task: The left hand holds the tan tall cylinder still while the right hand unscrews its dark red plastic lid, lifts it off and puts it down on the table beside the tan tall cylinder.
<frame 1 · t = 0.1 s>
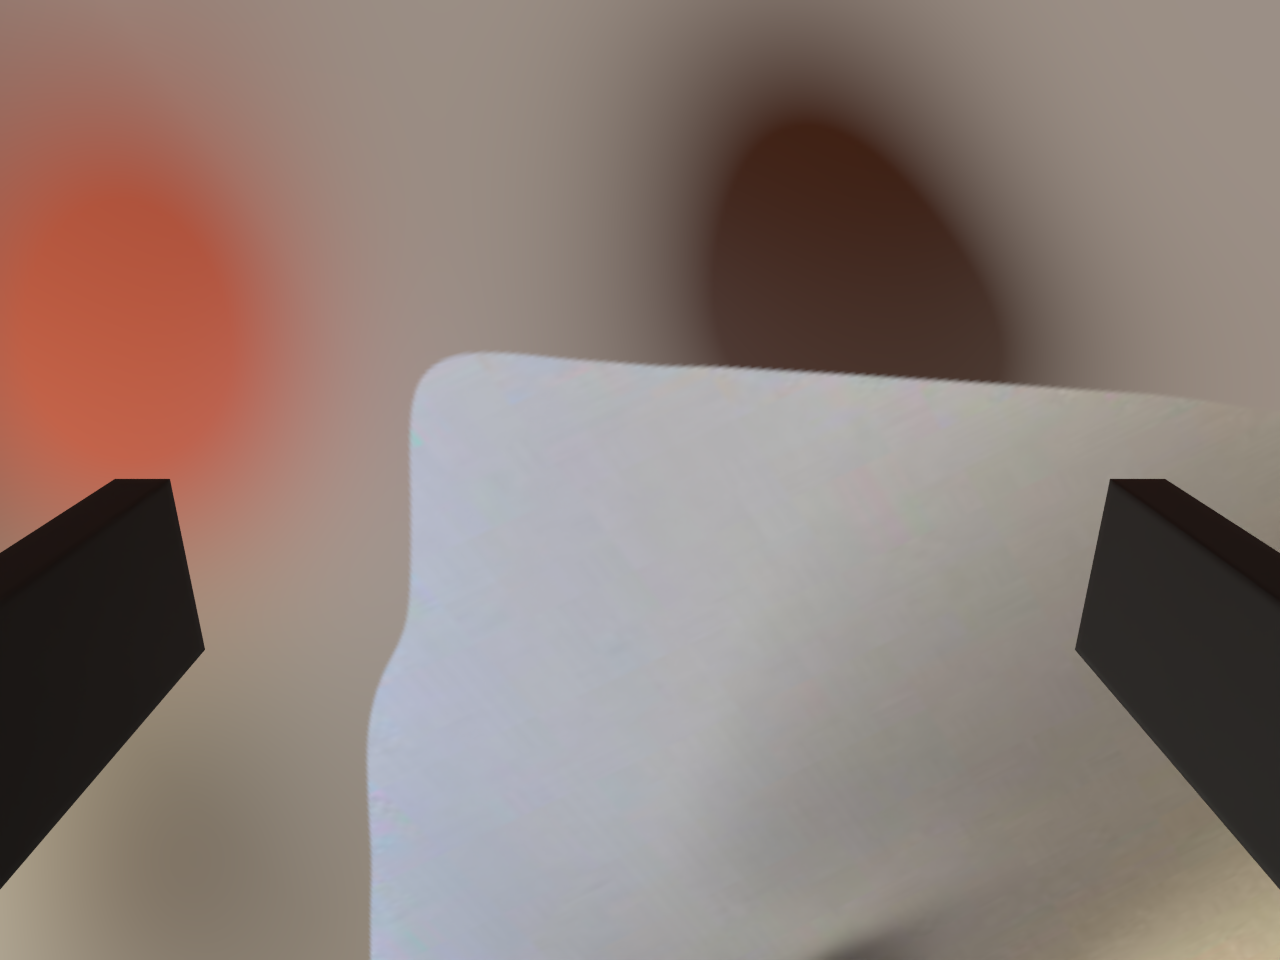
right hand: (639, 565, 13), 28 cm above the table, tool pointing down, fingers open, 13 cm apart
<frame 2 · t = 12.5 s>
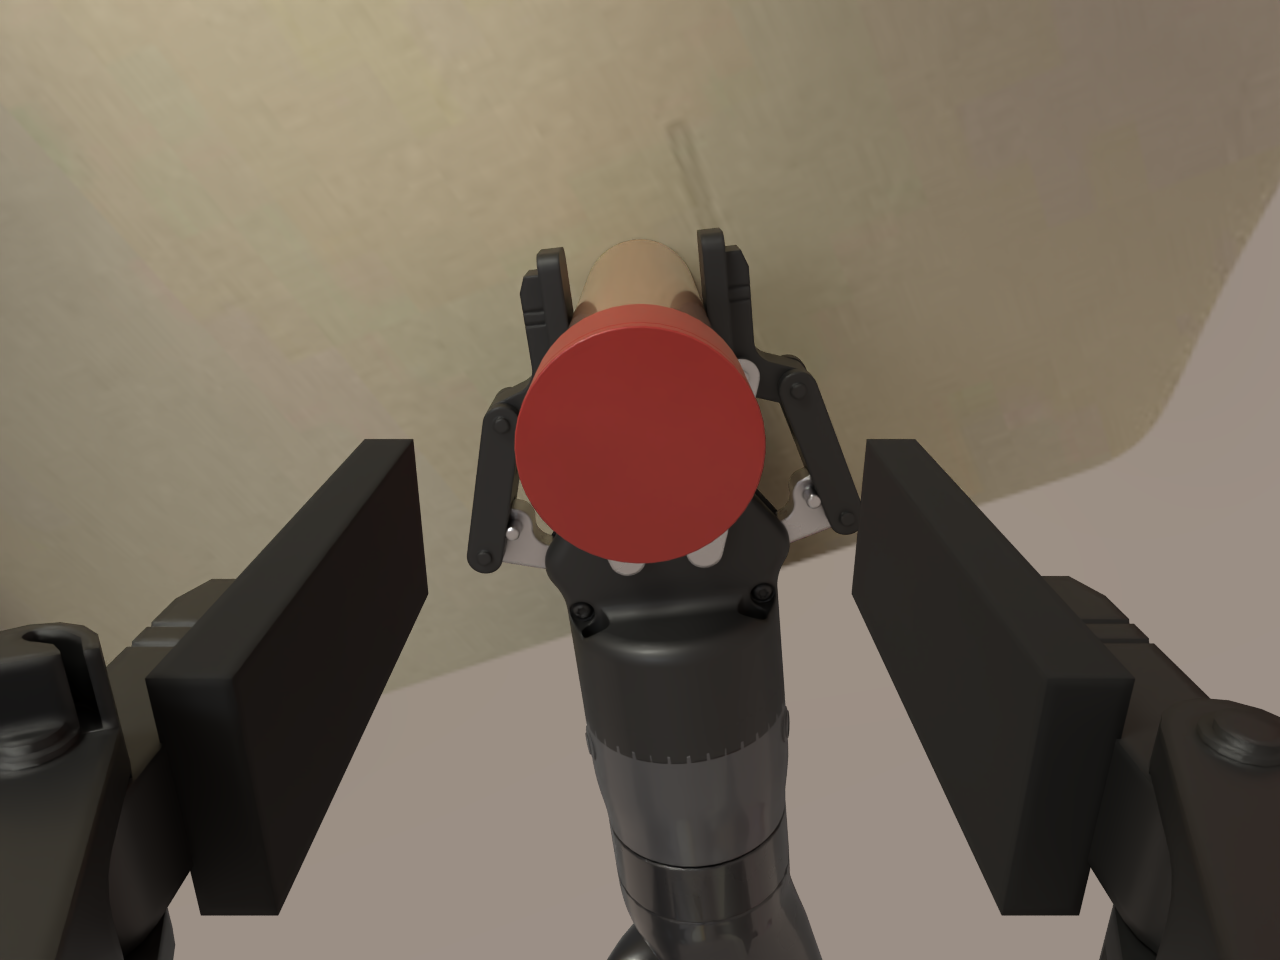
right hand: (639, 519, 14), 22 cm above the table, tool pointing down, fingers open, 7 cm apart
lid: (640, 445, 18), point 18 cm above the table, screwed on, not yet turned
tan tall cylinder: (640, 295, 34), on the table, touching left hand
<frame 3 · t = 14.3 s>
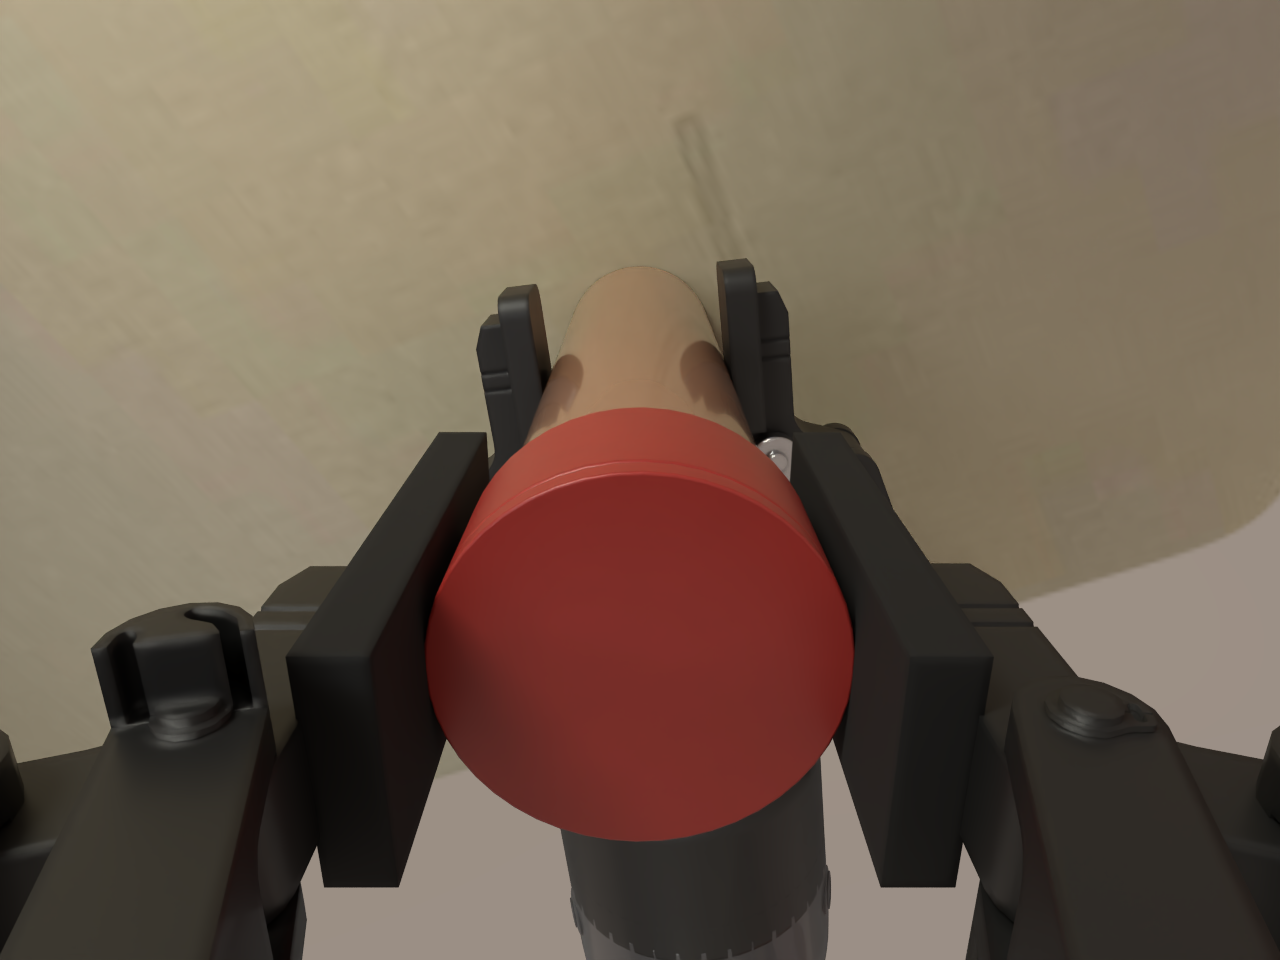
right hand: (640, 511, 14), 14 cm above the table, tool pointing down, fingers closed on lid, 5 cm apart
lid: (639, 657, 10), point 18 cm above the table, screwed on, not yet turned, touching right hand
tan tall cylinder: (639, 336, 27), on the table, touching left hand
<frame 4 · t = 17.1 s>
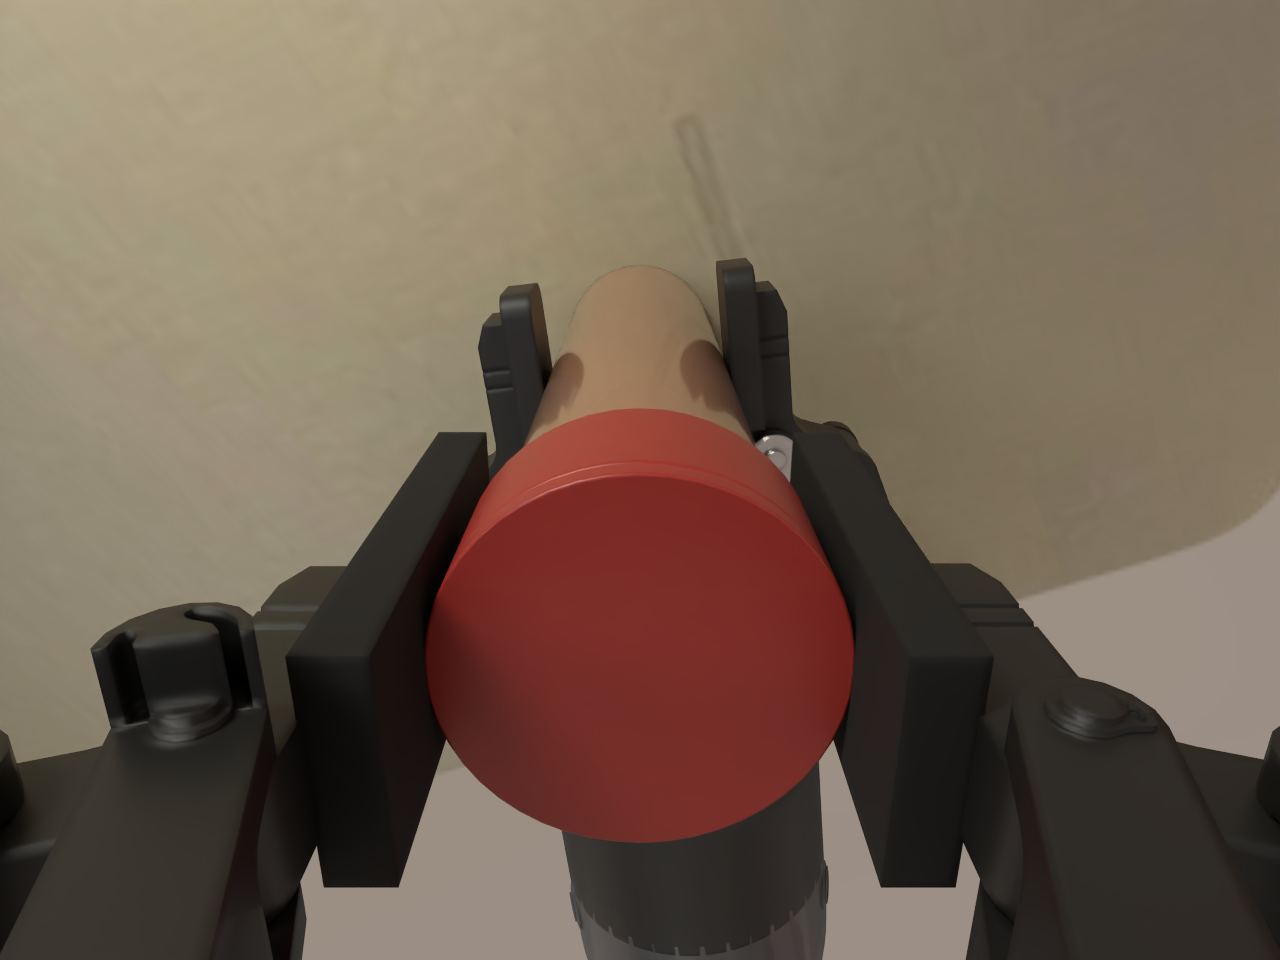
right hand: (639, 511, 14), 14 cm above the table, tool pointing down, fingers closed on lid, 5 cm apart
lid: (639, 658, 10), point 18 cm above the table, turned 69° so far, risen 0.2 cm, still on its thread, touching right hand
tan tall cylinder: (639, 335, 27), on the table, touching left hand
when the right hand's fingers open (0 cm above the table, at t = 23.4 s): lid stays where it is, point 2 cm above the table.
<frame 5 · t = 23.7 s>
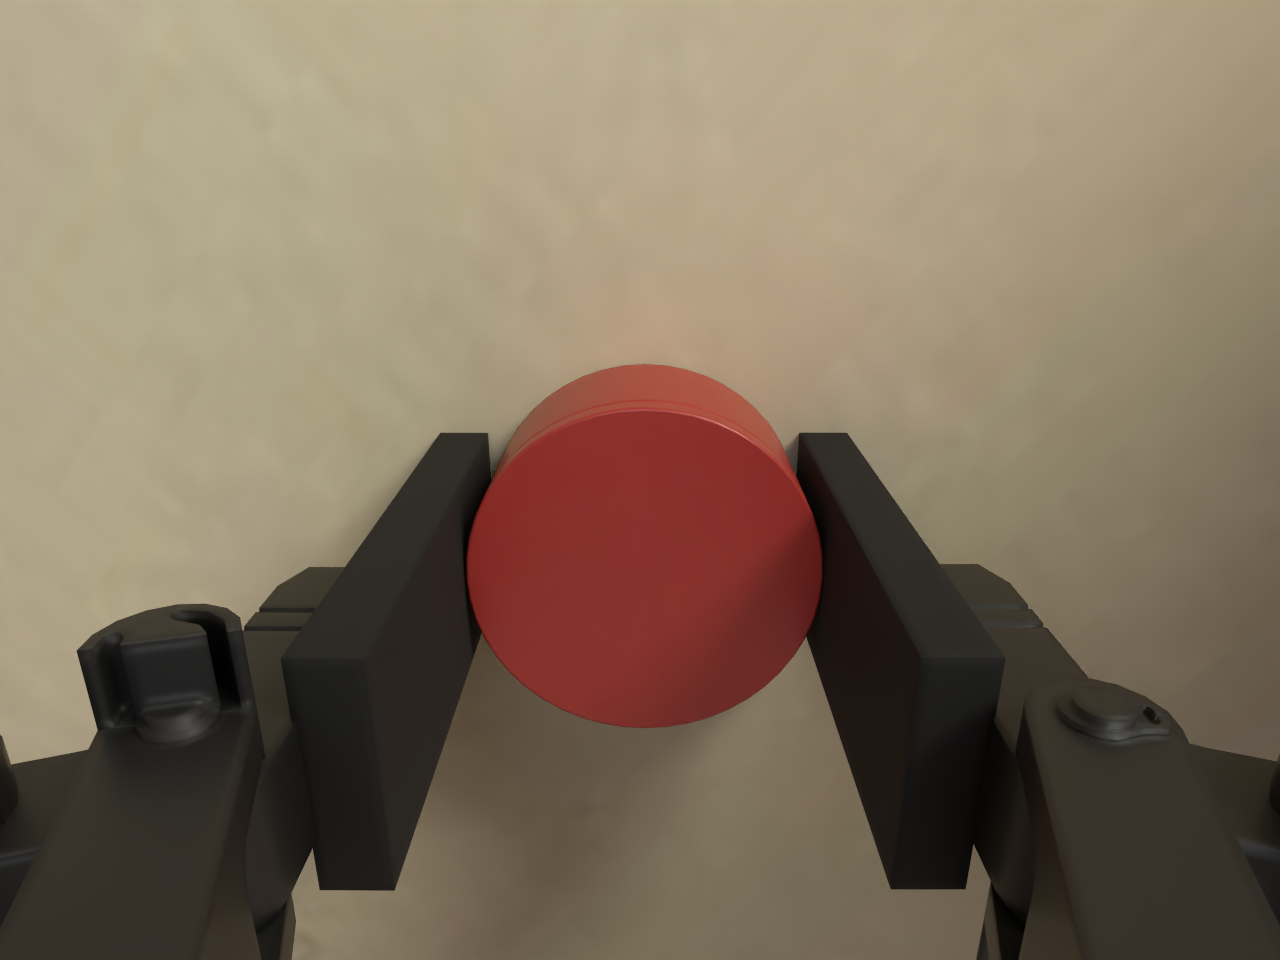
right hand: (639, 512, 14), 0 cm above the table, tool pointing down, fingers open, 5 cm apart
lid: (644, 568, 12), point 2 cm above the table, off its thread
when the left hand's fingers open (7 cm above the table, at t = 25.1 s): tan tall cylinder stays where it is, on the table.
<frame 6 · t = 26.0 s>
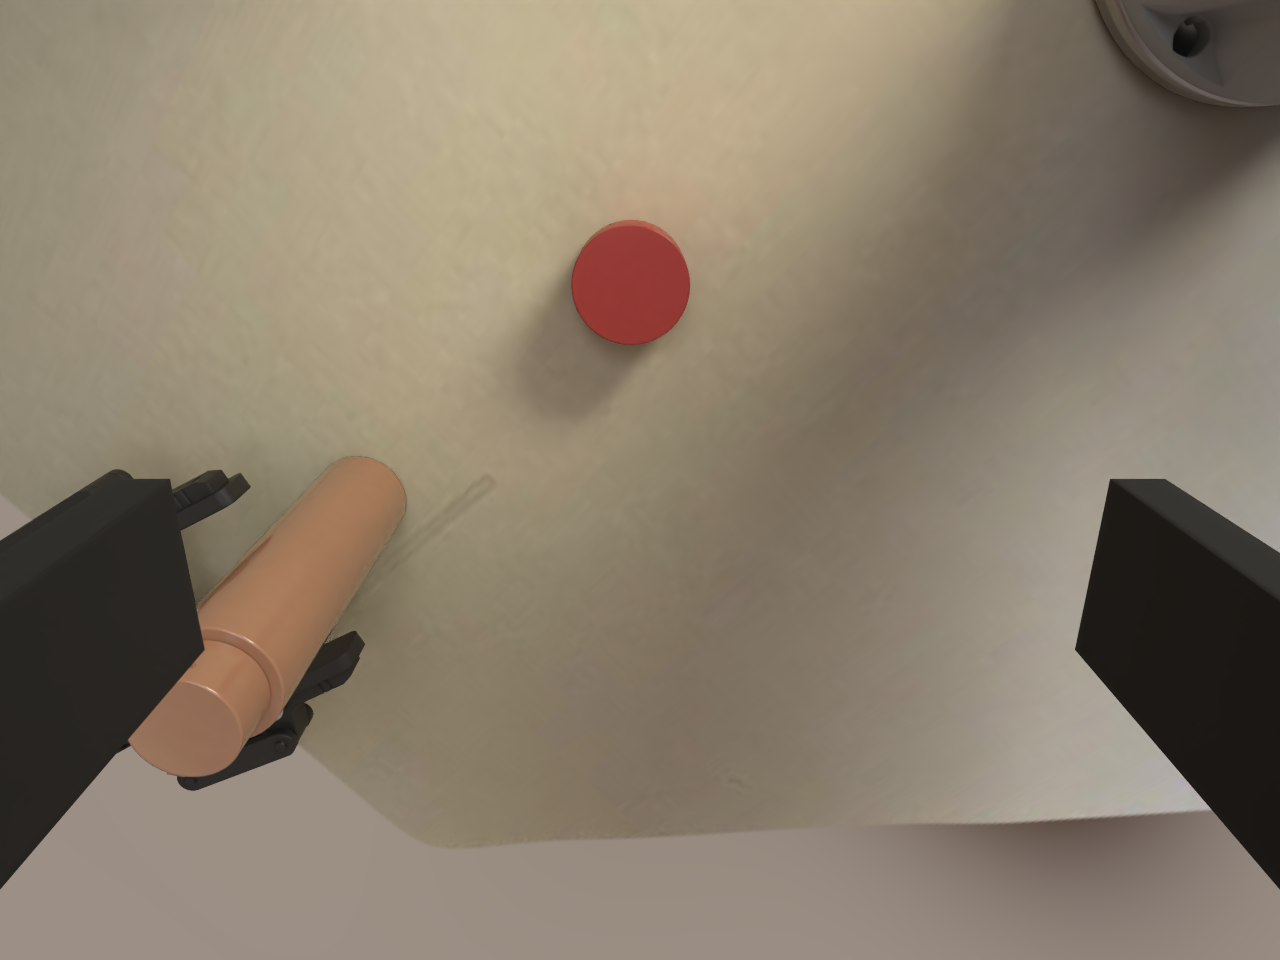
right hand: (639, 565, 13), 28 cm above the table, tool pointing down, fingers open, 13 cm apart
lid: (630, 285, 37), point 2 cm above the table, off its thread
tan tall cylinder: (361, 497, 43), on the table
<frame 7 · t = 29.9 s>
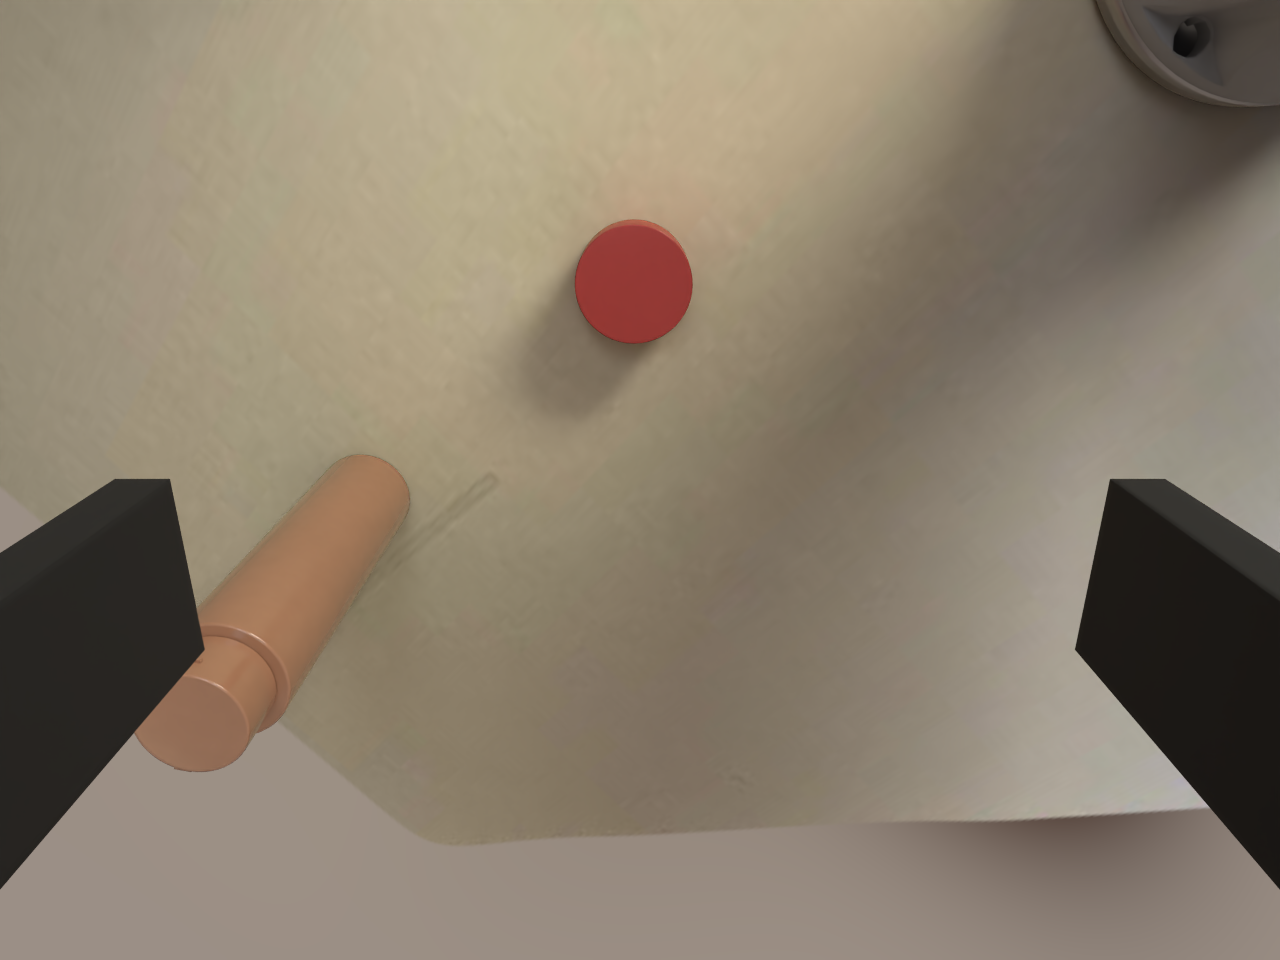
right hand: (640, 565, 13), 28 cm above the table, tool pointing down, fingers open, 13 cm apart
lid: (633, 284, 37), point 2 cm above the table, off its thread
tan tall cylinder: (365, 495, 43), on the table
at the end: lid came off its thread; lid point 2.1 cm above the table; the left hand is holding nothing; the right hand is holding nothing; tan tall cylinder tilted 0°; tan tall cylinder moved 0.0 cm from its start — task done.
